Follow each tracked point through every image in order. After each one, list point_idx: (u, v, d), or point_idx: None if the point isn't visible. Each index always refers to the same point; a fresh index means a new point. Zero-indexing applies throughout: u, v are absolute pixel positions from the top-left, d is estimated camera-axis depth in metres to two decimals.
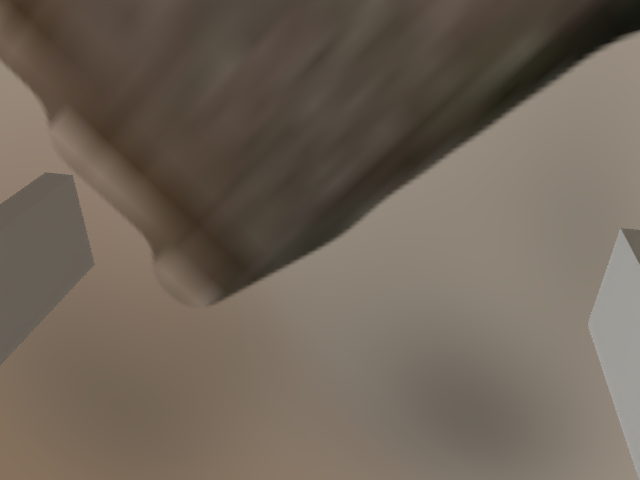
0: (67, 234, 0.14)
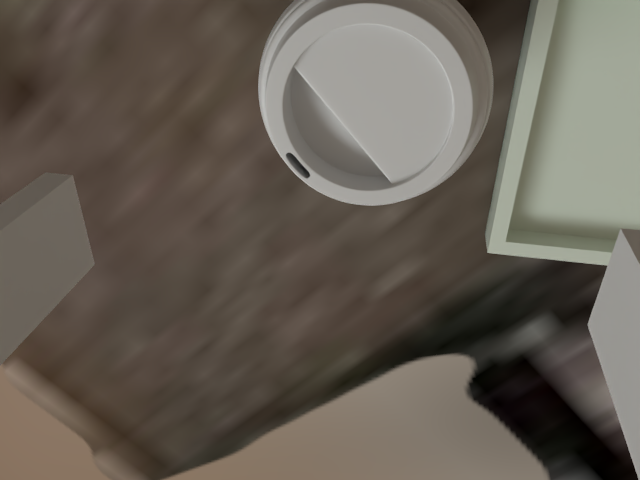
0: (67, 234, 0.14)
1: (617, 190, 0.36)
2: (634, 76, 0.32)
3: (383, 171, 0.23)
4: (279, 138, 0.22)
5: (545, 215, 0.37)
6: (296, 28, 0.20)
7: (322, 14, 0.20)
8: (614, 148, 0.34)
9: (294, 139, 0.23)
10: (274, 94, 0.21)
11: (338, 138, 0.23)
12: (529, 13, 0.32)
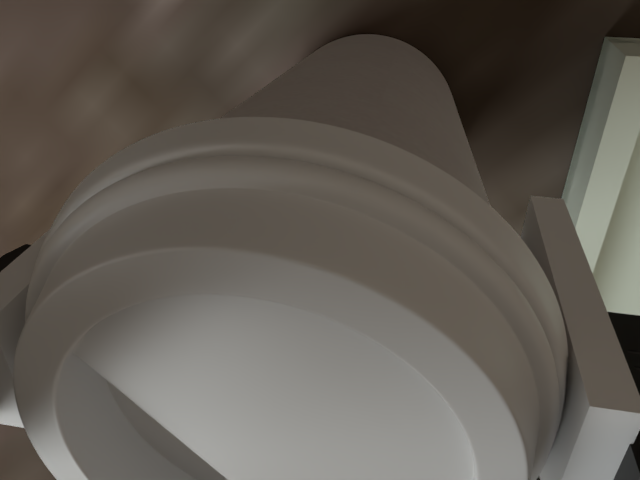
0: None
1: None
2: None
3: None
4: (70, 479, 0.10)
5: None
6: (55, 283, 0.08)
7: (107, 265, 0.07)
8: None
9: (113, 468, 0.10)
10: (35, 408, 0.09)
11: None
12: (590, 107, 0.19)
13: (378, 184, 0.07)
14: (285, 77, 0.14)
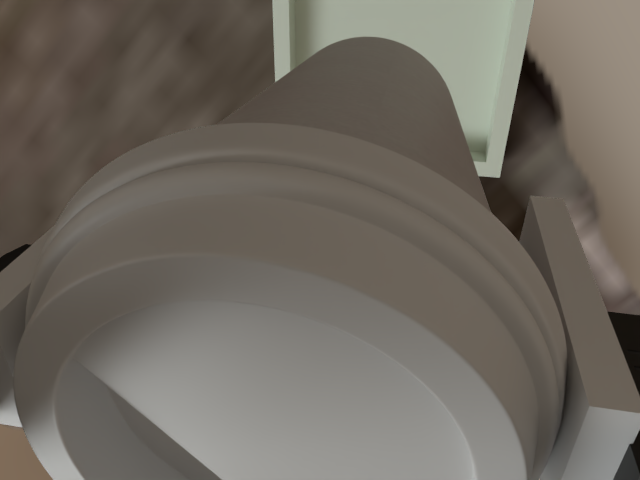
0: None
1: None
2: None
3: None
4: None
5: None
6: (55, 288, 0.08)
7: (107, 272, 0.07)
8: None
9: (112, 472, 0.10)
10: (35, 412, 0.09)
11: None
12: None
13: (377, 190, 0.07)
14: (285, 80, 0.14)
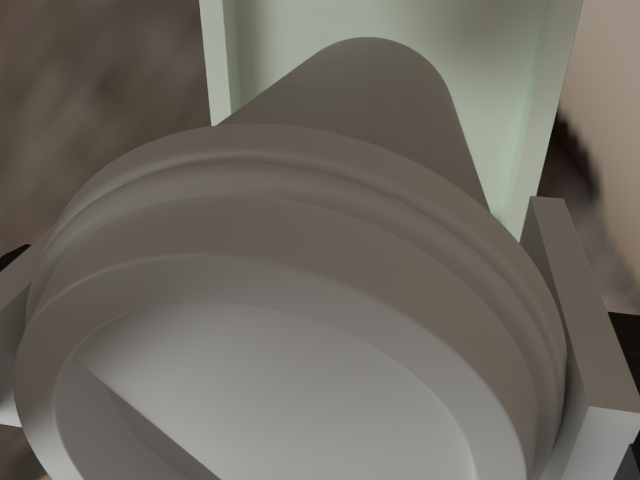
0: None
1: None
2: (355, 2, 0.24)
3: None
4: None
5: None
6: (55, 289, 0.08)
7: (107, 272, 0.07)
8: None
9: (112, 472, 0.10)
10: (35, 413, 0.09)
11: None
12: None
13: (377, 191, 0.07)
14: (285, 81, 0.14)
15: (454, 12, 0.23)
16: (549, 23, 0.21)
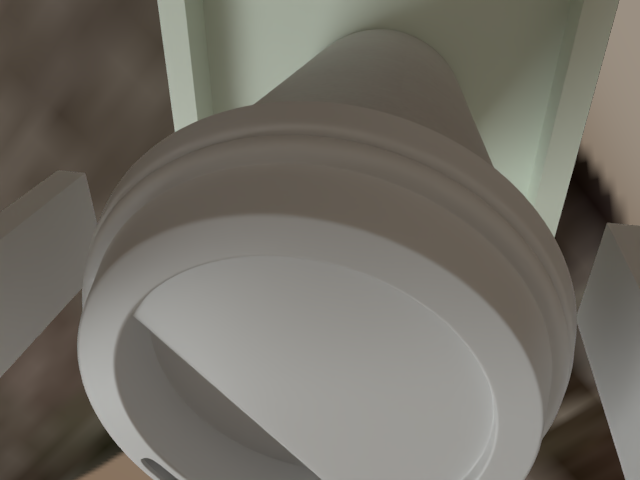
0: (80, 231, 0.14)
1: None
2: (343, 24, 0.20)
3: None
4: (123, 435, 0.11)
5: None
6: (121, 249, 0.08)
7: (173, 231, 0.08)
8: None
9: (160, 425, 0.11)
10: (96, 366, 0.10)
11: None
12: None
13: (410, 158, 0.08)
14: (307, 69, 0.15)
15: (458, 36, 0.20)
16: (571, 51, 0.18)
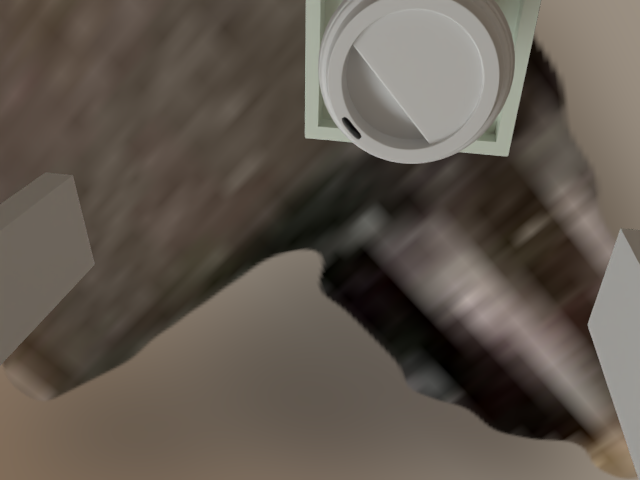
0: (67, 234, 0.14)
1: None
2: None
3: (422, 133, 0.27)
4: (337, 104, 0.27)
5: None
6: (357, 12, 0.25)
7: (379, 1, 0.24)
8: None
9: (349, 106, 0.28)
10: (335, 67, 0.26)
11: (384, 106, 0.28)
12: None
13: None
14: None
15: None
16: None
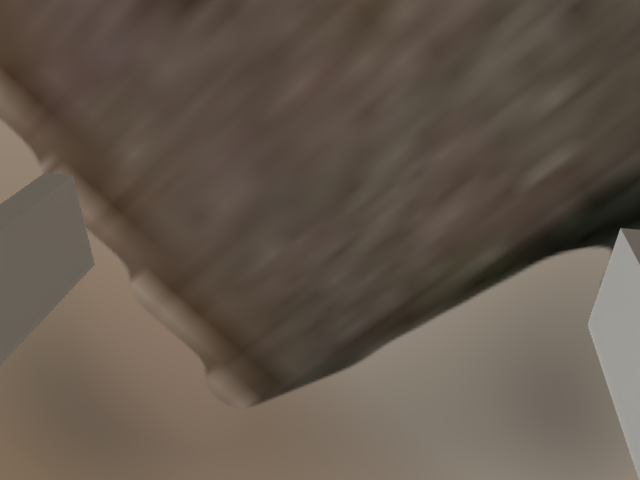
0: (67, 234, 0.14)
1: None
2: None
3: None
4: None
5: None
6: None
7: None
8: None
9: None
10: None
11: None
12: None
13: None
14: None
15: None
16: None
